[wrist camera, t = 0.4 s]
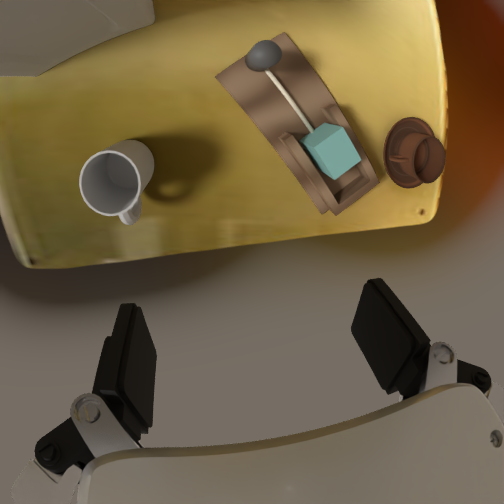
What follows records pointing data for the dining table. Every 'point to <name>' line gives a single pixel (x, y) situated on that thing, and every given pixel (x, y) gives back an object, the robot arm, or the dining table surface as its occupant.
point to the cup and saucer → (413, 153)
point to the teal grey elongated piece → (317, 141)
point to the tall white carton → (62, 30)
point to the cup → (117, 180)
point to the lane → (298, 123)
